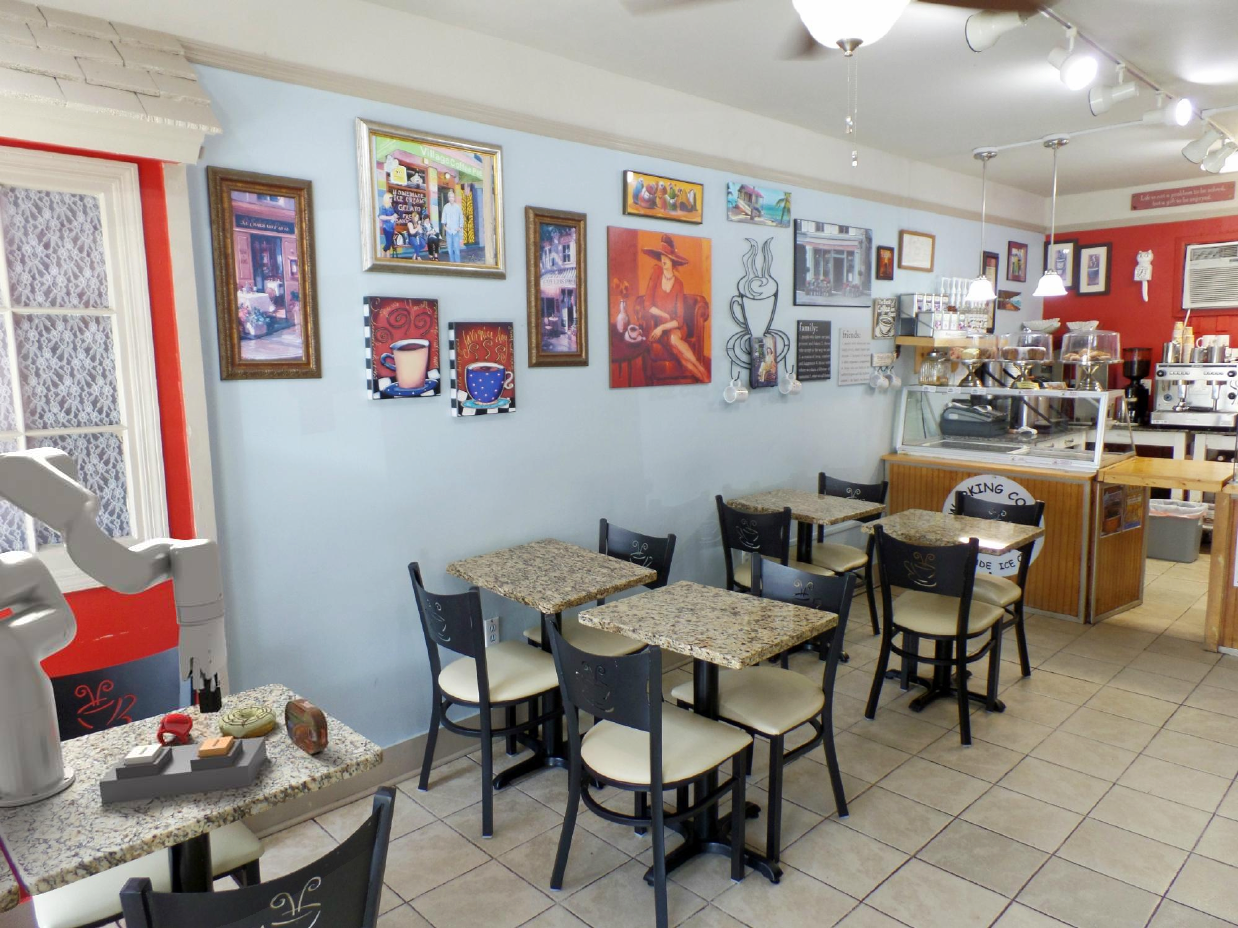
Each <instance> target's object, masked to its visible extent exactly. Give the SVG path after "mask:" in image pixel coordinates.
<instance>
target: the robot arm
mask: <svg viewBox="0 0 1238 928" xmlns="http://www.w3.org/2000/svg"><path fill="white" fill-rule="evenodd" d="M78 478H79V467H78V465H77V463H76V461H75V460H74V458H73V457H72V456H70V454H68V453H67V452H65V451H63V450H61V449H58V448H54V447H40V448H39V447H38V448H33V449H27V450H20V451H14V452H5V453H0V502H3V501H6V502H8V503H10V504H11V505H13V506H14V507H15V508H16V509H19V510H20V511H22V512H23V513H25V514H27V515H28V516H30V517H31V518H33V519H34V520H36V521H37V522H39V523H41V524H42V525H43V526H45V527H46V528H48V529H50V530H51V531H53V532H54V533H56V534H57V535H58V536H60V538H61V540H62V545H63V546H64V549H65V551H66V553H67V554H68V556H69V558H70V559H71V561H72V562H73V563H74V565H76V567H77V568H78V569H79V570H80V571H81V572H83V573H84V574H85V575H87V576H89V577H90V578H92V579H94V580H95V581H96V582H98V583H100V584H101V585H103V586H105V587H107V588H108V589H110V590H112V591H114V592H118V593H120V594H123V595H124V594H125V595H134V594H139V593H142V592H144V591H147V590H149V589H151V588H153V587H155V586H156V585H159V584H161V583H164V582H167V581H169V580H172V586H173V588H172V589H173V597H174V604H175V612H176V624H177V625H179V631H178V655H179V657H178V660H179V673H180V680H181V681H182V682H187V681H188V680H190V678H191V677H192V688H193V690H196V692H197V697H198V705H199V706H198V707H199V708H198V709H199V714H213V713H219V711H220V710H221V709H222V708H223V702H222V693H221V692H222V691H221V669H222V667H223V666H224V665H225V663H226V662H227V660H228V649H227V641H226V640H227V639H226V633H225V626H224V621H223V618H225V616H226V609H225V608H226V607H225V596H224V587H223V577H222V568H221V567H222V566H221V558H220V556H221V555H220V550H219V549H220V548H219V545H218V543H217V542H216V541H215V540H213V539H210V538H194V539H188V540H187V539H186V540H184V539H183V540H182V539H175V538H166V537H159V538H153V539H149V540H147V541H144V542H142V543H138V544H136V545H133V546H131V547H129V548H128V547H127V546H125V545H123V544H121V543H120V542H119V541H117V540H115V539H114V538H112V537H111V536H110V535H108V534H107V533H106V532H104V530H103V529H101V527H100V526H99V524H98V523H97V520H96V519H97V517H98V515H99V514H100V511H101V507H102V500H101V498H100V497H99V496H98V495H97V494H96V493H94V492H92V491H91V490H90V489H88V488H86V486H83V485H81V484H80V483H78V482H77V481H78ZM8 608H9V609H10V611H11V612H12V614H9V615H8V616H5V617H3V618H0V807H1V808H3V807H4V808H6V807H7V808H8V807H9V808H10V807H17V806H24V805H29V804H31V803H36V802H38V801H39V802H40V801H42V800H45V799H47V798H49V797H52V796H54V795H55V794H58V793H60V792H62V791H63V790H64V789H66V788H68V787H69V786H70V785H71V784H72V783H73V782H74V781H75V779H76V770H75V768H74V767H71V766H70V765H65V764H64V758H63V751H62V750H63V749H62V742H61V737H60V729H59V728H60V727H59V722H58V721H59V720H58V715H57V706H56V700H55V694H54V687H53V684H52V681H51V679H50V677H49V676H48V674H47V673H46V672H45V671H44V669H43V667H42V665H41V663H40V662H41V661H43V660H45V659H46V658H48V657H50V656H52V655H54V654H55V653H57V652H59V651H61V650H63V649H64V648H66V647H67V646H68V645H70V644H71V643H72V641H73V640H74V638H75V637H76V635H77V628H78V625H77V620H76V618H75V617H76V616H75V614H74V612H73V610H72V608H71V606H70V604H69V603H68V601H67V600H66V597H65V596H64V594H63V592H62V590H61V589H60V587H59V585H58V584H57V581H56V580H55V579H54V576H53V575H52V573H51V572H50V570H49V568H48V567H47V565H46V564H45V563H44V562H43V561H42V560H40V558H38V557H37V556H35V555H33V554H31V553H29V552H26V551H21V550H13V551H7V552H3V553H0V612H1V611H3V610H7V609H8Z"/></svg>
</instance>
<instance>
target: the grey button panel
mask: <svg viewBox="0 0 1238 928" xmlns="http://www.w3.org/2000/svg"><path fill="white" fill-rule="evenodd" d="M233 741H234V745H233V746H232V748H231V749H230V751H229V752H228V754H224V755H215V756H206V757H199V751H198V750H199V749H200V748H201V746H202V745H203V744H204V742H202V743H195V744H194V743H193V744H184V745H178V746H177V745H176V746H170V745H169V746H168V745H167V746H162V749H163V752H162V753H161V754H160V755H159V756H158V758H157V759H156V760H155V761H154V762H150V763H141V764H132V765H125V759H124V758H125V757H126V756H127V755H128V754H129V753H130V752H131V751H132V750H130V751H126V753H124V755H123V756H122V757H121V758H119V760H118V761H117V762H116V763H115V765H113V766H112V768H111V769H110V770H108V772H107V773H106V774H105V775H104V776H103V777H102V778H101V779H100V781H98V782H99V792H100V799H101V804H102V805H103V804H104V805H105V804H111V803H120V802H129V801H130V802H131V801H137V800H147V799H155V798H162V797H163V798H164V797H173V796H182V795H190V794H198V793H207V792H217V791H224V790H225V791H226V790H232V789H234V788H235V789H242V788H243V789H244V788H250V787H251V786H252V784H253V782H254V780H255V779H256V777H257V775H258V773H259V771H260V770H261V768H262V766H263V765H264V763H265V761H266V759H267V758H268V754H267V744H266V737H265V736H262V737H253V738H249V739H233ZM235 789H234V790H235Z"/></svg>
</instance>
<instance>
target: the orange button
mask: <svg viewBox="0 0 1238 928" xmlns="http://www.w3.org/2000/svg"><path fill="white" fill-rule="evenodd" d="M233 740H234V739H233V736H229V737H226V736H220V737H212V738H206V740H205V741H204V742H203V743H204V744H203V743H202V744H203V745H202V746H201V748H200V749H199V750H198V751H199V757H206V756H215V755H224V754H228V752H229V751H230V749H231V748H232V746H233V745H234V741H233Z"/></svg>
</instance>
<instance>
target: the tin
mask: <svg viewBox="0 0 1238 928" xmlns="http://www.w3.org/2000/svg"><path fill="white" fill-rule="evenodd" d="M284 723H285V728H286V732H287V734H288V735H287V736H288V737H289V739H290V741H291V742H292V743H293V744H294V745H296V746H297V747H299V748H300V749H302V751H304V752H305V753H307V754H309V755H315V753H316V754H317V753H319V752H322V751H324V750H326V748H327V747H328V744H329V737H328V735H329V734H328V731H329V730H328V726H329V725H328V722H327V718H326V716H325V713H324V712H323V711H322V709H320V708H319V707H318V706H316V705H315V704H313V703H312V702H309V701H308V700H307V699H304V698H298V699H294V700H288V701H287V702H286V704H285V707H284Z"/></svg>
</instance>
